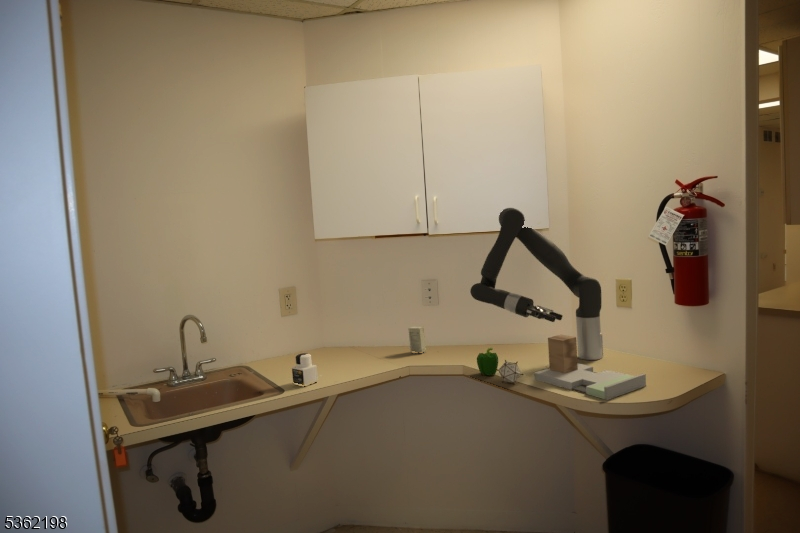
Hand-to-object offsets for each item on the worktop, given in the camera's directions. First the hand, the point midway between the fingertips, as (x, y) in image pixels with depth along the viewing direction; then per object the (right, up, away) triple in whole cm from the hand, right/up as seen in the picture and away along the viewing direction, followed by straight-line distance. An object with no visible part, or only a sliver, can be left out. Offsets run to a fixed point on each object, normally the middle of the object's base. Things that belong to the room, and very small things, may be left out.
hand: (558, 318), depth 193 cm
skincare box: (-51, -21, +49) cm, 74 cm away
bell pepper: (-25, -22, +6) cm, 34 cm away
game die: (-19, -23, -7) cm, 31 cm away
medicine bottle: (-97, -27, +12) cm, 102 cm away
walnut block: (+1, -18, -4) cm, 19 cm away
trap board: (+6, -21, -13) cm, 25 cm away
